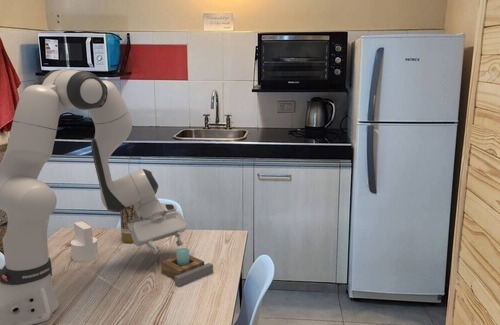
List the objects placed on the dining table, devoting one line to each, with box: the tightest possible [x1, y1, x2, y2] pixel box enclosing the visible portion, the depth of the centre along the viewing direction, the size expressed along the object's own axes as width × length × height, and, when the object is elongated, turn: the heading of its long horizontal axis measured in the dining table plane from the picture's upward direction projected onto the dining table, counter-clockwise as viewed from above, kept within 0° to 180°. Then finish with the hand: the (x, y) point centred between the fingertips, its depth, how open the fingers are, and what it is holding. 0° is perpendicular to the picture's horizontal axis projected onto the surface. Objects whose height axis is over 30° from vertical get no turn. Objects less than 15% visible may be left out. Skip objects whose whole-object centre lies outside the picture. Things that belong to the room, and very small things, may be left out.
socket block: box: [160, 254, 205, 281], centre depth 153 cm, size 10×10×4 cm
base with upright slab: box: [70, 221, 99, 263], centre depth 168 cm, size 9×9×12 cm
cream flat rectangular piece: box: [174, 262, 214, 288], centre depth 156 cm, size 14×20×4 cm
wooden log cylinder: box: [119, 205, 138, 244], centre depth 182 cm, size 7×7×25 cm
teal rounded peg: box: [176, 247, 190, 267], centre depth 153 cm, size 4×4×8 cm
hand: (169, 248), depth 157 cm, fingers open, 8 cm apart
